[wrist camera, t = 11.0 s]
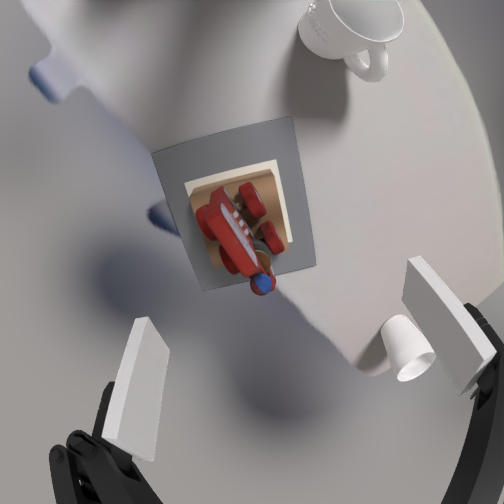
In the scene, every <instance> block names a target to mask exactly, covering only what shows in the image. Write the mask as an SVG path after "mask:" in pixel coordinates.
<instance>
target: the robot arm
mask: <svg viewBox="0 0 504 504" xmlns="http://www.w3.org/2000/svg"><path fill="white" fill-rule="evenodd" d="M402 301H403V303H404V304H405V306H406V307H407V309H408V310H409V312H410V313H411V315H412V316H413V318H414V319H415V321H416V323H417V324H418V326H419V327H420V329H421V330H422V332H423V334H424V335H425V337H426V339H427V340H428V342H429V344H430V345H431V347H432V349H433V350H434V352H435V354H436V356H437V357H438V359H439V361H440V362H441V364H442V366H443V368H444V370H445V372H446V373H447V375H448V377H449V379H450V381H451V383H452V385H453V387H454V389H455V390H456V392H457V394H458V396H460V395H462V394H463V393H465V392H467V391H468V390H470V389H471V388H472V387H473V386H474V384H475V383H476V382H477V384H478V388H477V389H476V390H475V391H474V393H473V394H472V395H471V398H470V399H472V398H473V397H474V396H475V395H476V396H475V402H474V407H473V412H472V416H471V420H470V424H469V428H468V432H467V436H466V439H465V442H464V446H463V449H462V452H461V455H460V458H459V461H458V464H457V467H456V469H455V472H454V475H453V477H452V480H451V482H450V485H449V487H448V489H447V492H446V494H445V496H444V498H443V500H442V503H441V504H497V502H498V500H499V497H500V494H501V491H502V488H503V486H504V344H503V342H502V341H501V340H500V338H499V337H498V335H497V334H496V333H495V331H494V330H493V328H492V327H491V326H490V325H489V324H488V322H487V320H486V319H485V318H483V315H482V314H481V313H480V312H479V310H478V309H477V308H476V307H474V306H473V305H471V304H470V303H467V304H464V305H462V303H461V302H460V301H459V300H458V299H457V297H456V296H455V295H454V294H453V292H452V291H451V290H450V289H449V288H448V287H447V285H446V284H445V283H444V282H443V281H442V280H441V278H440V277H439V276H438V275H437V274H436V273H435V272H434V271H433V269H432V268H431V267H430V266H429V265H428V264H427V263H426V262H425V261H424V260H423V259H422V258H421V256H417V257H414V258H410V259H408V262H407V270H406V277H405V284H404V290H403V296H402ZM169 355H170V350H169V348H168V347H167V345H166V344H165V342H164V341H163V339H162V338H161V336H160V335H159V333H158V332H157V330H156V329H155V327H154V325H153V324H152V322H151V320H150V319H149V317H143V318H136V319H135V322H134V325H133V328H132V331H131V333H130V336H129V339H128V342H127V346H126V348H125V352H124V355H123V358H122V361H121V364H120V368H119V371H118V374H117V378H116V381H115V382H109V383H108V385H107V386H106V388H105V389H104V391H103V395H102V399H101V402H100V406H99V410H98V413H97V417H96V421H95V425H94V429H93V433H92V436H90V435H88V434H87V433H85V432H84V431H82V430H76V431H73V432H72V433H71V434H70V435H69V437H68V439H67V442H66V447H67V448H65V447H64V446H62V445H55V446H53V448H52V449H51V450H50V453H49V463H50V471H51V477H52V483H53V489H54V494H55V499H56V503H57V504H163V503H162V502H161V500H160V499H159V498H158V496H157V495H156V494H155V492H154V491H153V490H152V488H151V487H150V485H149V484H148V483H147V481H146V480H145V478H144V477H143V475H142V474H141V472H140V471H139V469H138V468H137V466H136V465H135V464H134V462H133V461H132V456H133V457H135V458H137V459H139V460H145V461H154V458H155V449H156V440H157V432H158V424H159V417H160V410H161V403H162V396H163V390H164V383H165V377H166V372H167V366H168V360H169ZM79 480H80V481H81V485H80V483H79Z"/></svg>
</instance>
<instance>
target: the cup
mask: <svg viewBox="0 0 504 504" xmlns="http://www.w3.org/2000/svg"><path fill="white" fill-rule="evenodd" d="M381 336H382V339H383V342H384V345H385V349H386V352H387V355H388V358H389V362H390V365H391V368H392V370H393V371H394V373H395V375H396V377H397V379H398V380H399V381H408V380H411V379H413V378H415V377H417V376H419V375H421V374H422V373H423V372H425V371H426V370H427V369H428V368H429V367H430V366H431V365H432V363H433V362H434V360H435V357H436V355H435V353H434V351H433V349H432V347H431V345H430V344H429V342H428V340H427V339H426V338H425V337H424V336H423V335H422V333H421V332H420V331H419V330H418V329H417V328H416V327H415V326H414V325H413V324H412V323H411V321H410V320H409V319H408V318H407V317H406V316H405V315H396V316H394V317H392V318H390V319H389V320H387V321H386V322H385V323H384V325H383V326H382V328H381Z"/></svg>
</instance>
